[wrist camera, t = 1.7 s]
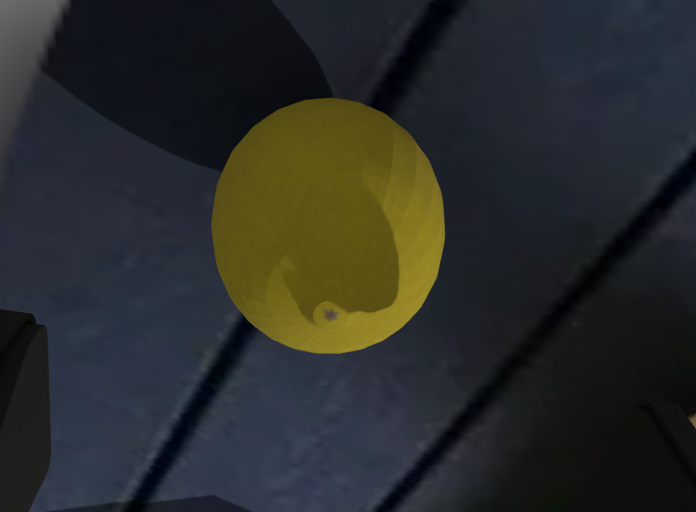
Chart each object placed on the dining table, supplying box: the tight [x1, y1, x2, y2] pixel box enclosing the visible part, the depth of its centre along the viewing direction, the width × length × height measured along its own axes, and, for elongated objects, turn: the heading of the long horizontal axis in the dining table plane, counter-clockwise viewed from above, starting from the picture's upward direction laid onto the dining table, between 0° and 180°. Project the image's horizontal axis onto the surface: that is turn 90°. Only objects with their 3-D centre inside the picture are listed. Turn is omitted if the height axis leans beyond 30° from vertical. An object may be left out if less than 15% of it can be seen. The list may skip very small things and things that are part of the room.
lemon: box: [211, 98, 445, 353], centre depth 16 cm, size 6×6×8 cm
